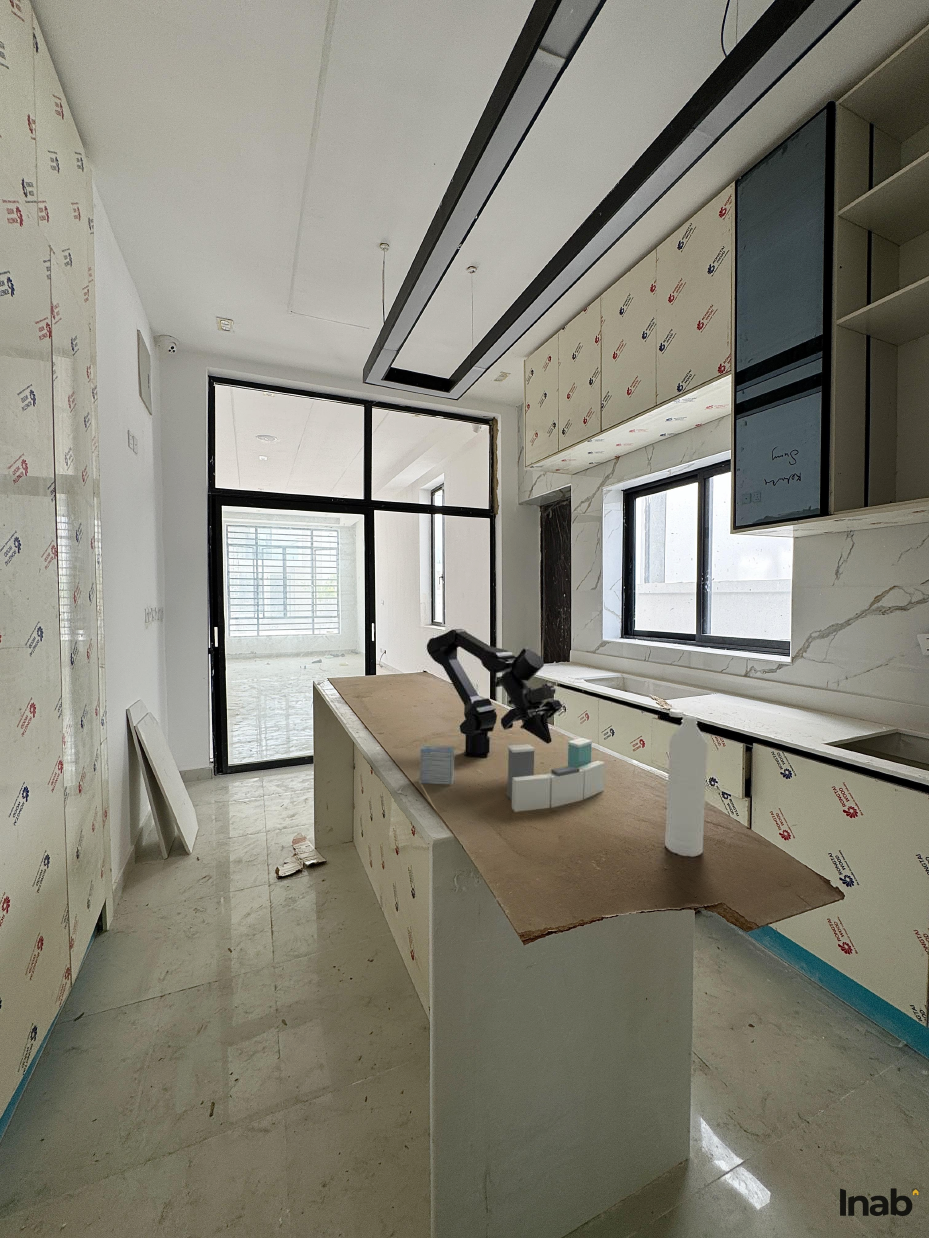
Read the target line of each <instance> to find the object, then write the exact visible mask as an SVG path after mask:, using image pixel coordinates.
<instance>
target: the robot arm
mask: <svg viewBox="0 0 929 1238" xmlns="http://www.w3.org/2000/svg"><path fill="white" fill-rule="evenodd" d="M458 648H461V649H462V650H464V651H466V652H468V653H469V654H471V655H472V656H474V657H476V659H478V660H480V662H481V665H482V666H483V668H485V669H486V670H487V671H488V672H489V673H491V674H500V673H503V674H502V675H501V676H496V680H495V684H494V687H495V688H500V687H502V688H503V690H504V691H505V693H506V694H507V696H508V697H509V700H508V702H507V703H508V704H509V706H511V705H513V706H514V708H510V709H509V710H508V711H507V712H506V713H505V714H504V715H503V716H502V717H501V718H500V725H501V727H502V728H503V730H504V731H507V730H510V729H512V728H513V727H514V723H515V722H518V721H519V722H520V721H521V725H520V727H519V728H520V729H521V730H522V729H523V730H525V731H526V732H528V733H530V734H532V735H533V736H535V737H536V738H538V739H540V741H542V742H544V743H546V744H547V745H549V744H551V743H552V742H553V741H552V735H551V732H550V728H549V721H548V720H549V719H551V718H552V717H553V716H555V715H556V714H557V713H558V712H559V711H560V710H561V709H562V708H563V705H562V703H561V701H560V700H559V699H554V698H555V696H554V695H555V694H556V692H557V691H556V688H555V687H554V685H553V684H552V683H551V682H547V683H543V684H542V685H541V687H537V688H534V687H533V686H531V687H529V686H528V684H527V682H529V681H530V680H532V678H534V677H535V676H536V675H537V674H538V672H540V670H542V668H543V667H544V665H545V664H544V663H545V662H544V660H543V657H541V656H540V655H539V654H537V653H536V652H535V651H532V650H531V649H530V647H526V648H525V647H524V648H522V650H520V653H519V654H518V655H517V656H515V655H514V654H513V653H512V652H511V651H510V650H507V649H504V648H500V647H494V646H491V645H489V644H487V643H485V642H484V641H482V640H480V639H478V637H475V636H474V635H472V634H471V633H468V632H467V631H466V629H463V628H457V629H456V628H455V629H451V630H449V631H447V632H445V633H443V634H440V635H438V636H436V637H431V638H429V640H428V642H427V644H426V652H427V653H428V655H429V657H430V658H431V659H432V660H433V661H434V662H436V663H437V664H439V665H440V666H442V667H443V669H444V671H445V673H446V675H447V676H448V679H449V680H450V682H451V684H452V685H453V687H454V689H455V691H456V693H457V694H458V696H459V698H460V700H461V702H462V703H463V705H464V708H463V709H464V711H463V716H464V720H463V721H462V722H461V724H460V725H459V731H460V734H463V735H465V740H464V741H465V742H464V743H465V744H464V745H465V747H464V748H465V749H464V757H476V758H478V757H479V758H480V757H481V758H488V754H490V752H491V751H490V749H491V747H490V746H491V736H489V733H491V732H494V729H495V725H496V723H497V717H498V713H497V712H496V711H497V709H496V707H494V705H493V703H492V701H491V699H490V698H489V697H486V698H483V697H481V696H480V695H479V693H478V692H477V690H476V688H475V687H474V685H473V683H472V681H471V680H470V678H469V676H468V675H467V673H466V671H465V670H464V667H463V666H462V665H461V663H460V661H459V660H458ZM548 699H551V700H548ZM546 700H547V701H546ZM545 701H546V702H545Z"/></svg>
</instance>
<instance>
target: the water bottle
mask: <svg viewBox="0 0 929 1238" xmlns="http://www.w3.org/2000/svg"><path fill="white" fill-rule="evenodd" d="M669 716H670V717H674V718H682V720H681V721H680V722H681V724H680V726H678V727H677V728H676V730H675V731H674V732H673V734H672V735H671V736H670V739H669V744H668V745H669V747H668V748H669V749H668V750H669V754H668V773H667V774H668V775H667V776H668V777H667V778H668V779H667V792H666V793H667V794H666V801H667V803H666V815H665V820H666V822H665V835H664V836H665V837H664V844H665V847H666V848H667V849H668V851H670V852H672V853H674V854H677V855H679V856H682V857H691V858H692V857H697V856H700V855H701V854H702V853H703V850H704V824H705V806H706V798H705V797H706V784H707V783H706V782H707V781H706V779H707V766H708V765H707V763H708V762H707V761H708V741H707V740H706V737H704V735H703V733H702V731H701V730H700V728H699V727H698V725H697V724H698V721H697V717H696V716H692V715H684V711H683V710H681V709H672V708H671V709H669Z"/></svg>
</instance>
